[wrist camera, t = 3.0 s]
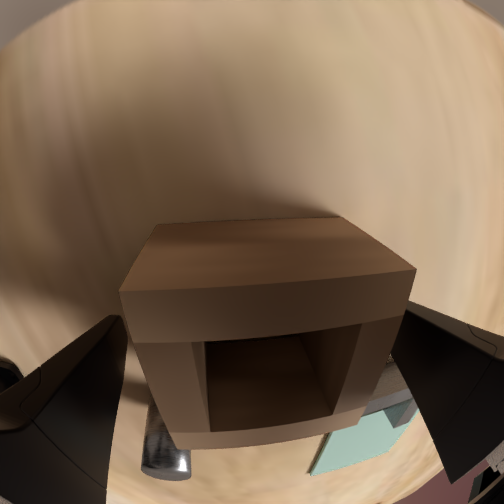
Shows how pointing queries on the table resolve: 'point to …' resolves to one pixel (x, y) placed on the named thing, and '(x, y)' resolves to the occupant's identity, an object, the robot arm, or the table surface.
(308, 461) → the table surface
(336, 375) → the brown square cubby
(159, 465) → the hook
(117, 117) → the table surface
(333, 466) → the pad
